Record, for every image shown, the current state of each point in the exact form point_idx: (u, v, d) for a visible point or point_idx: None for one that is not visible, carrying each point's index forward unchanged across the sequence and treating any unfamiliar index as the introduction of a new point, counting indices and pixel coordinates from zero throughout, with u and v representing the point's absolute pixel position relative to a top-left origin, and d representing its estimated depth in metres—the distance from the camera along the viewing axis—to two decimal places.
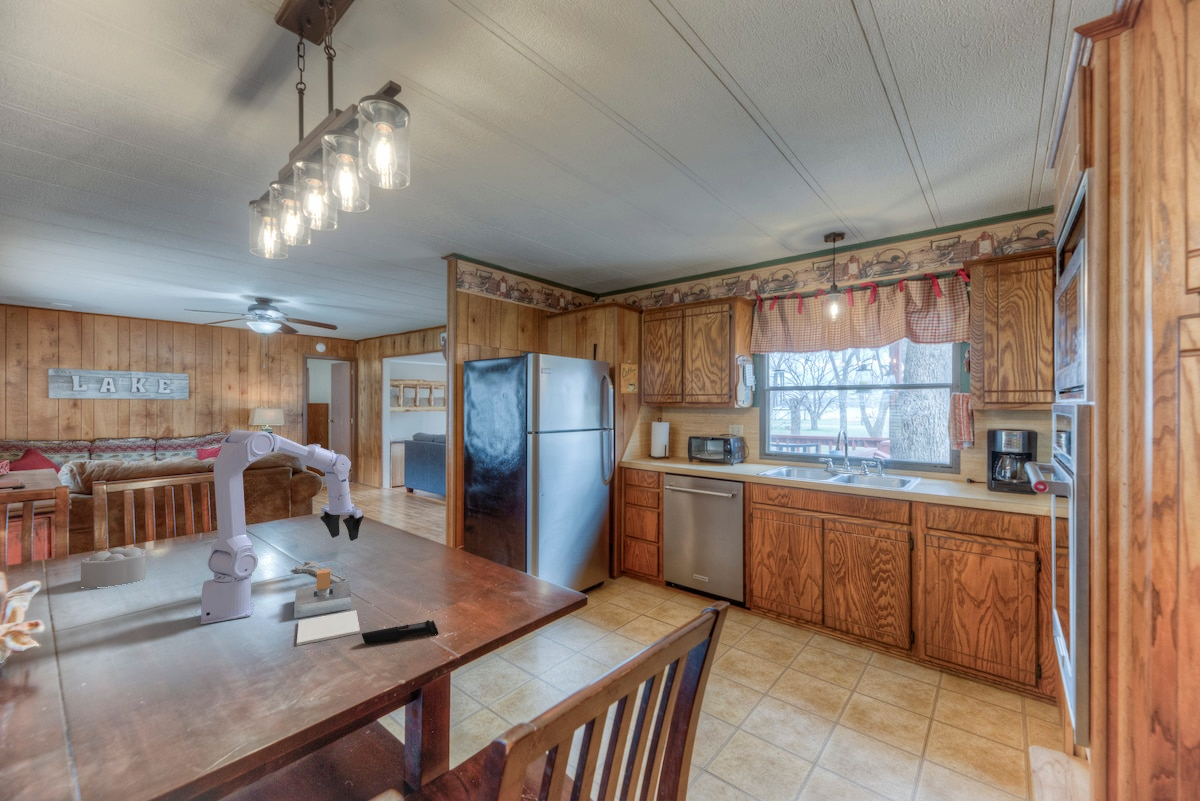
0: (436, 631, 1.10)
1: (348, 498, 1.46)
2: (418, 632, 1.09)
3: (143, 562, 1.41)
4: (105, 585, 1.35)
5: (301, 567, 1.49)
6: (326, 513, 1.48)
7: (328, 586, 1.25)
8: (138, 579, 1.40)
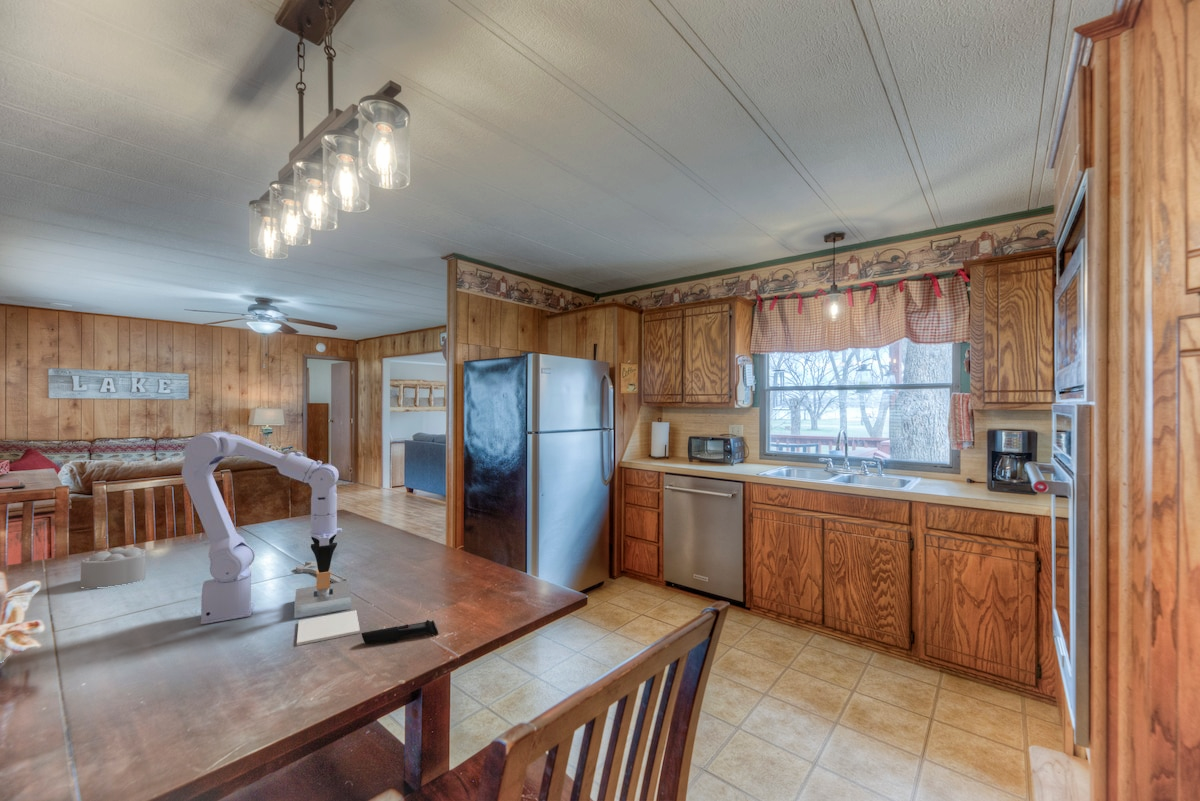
0: (436, 631, 1.10)
1: (327, 520, 1.24)
2: (417, 632, 1.09)
3: (143, 562, 1.41)
4: (105, 585, 1.35)
5: (302, 567, 1.49)
6: None
7: (328, 586, 1.25)
8: (138, 579, 1.40)
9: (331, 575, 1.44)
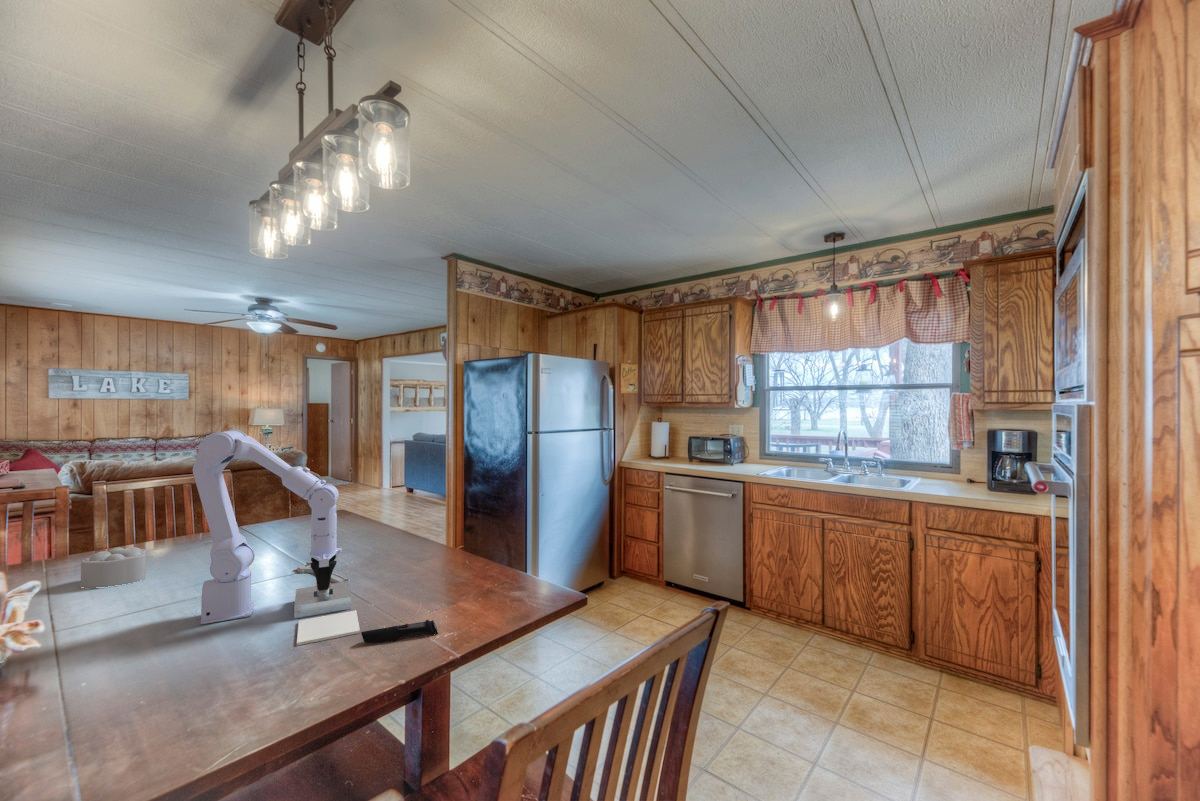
0: (435, 631, 1.10)
1: (327, 541, 1.24)
2: (417, 631, 1.09)
3: (143, 562, 1.41)
4: (105, 585, 1.35)
5: (303, 567, 1.49)
6: None
7: None
8: (138, 579, 1.40)
9: (332, 575, 1.44)
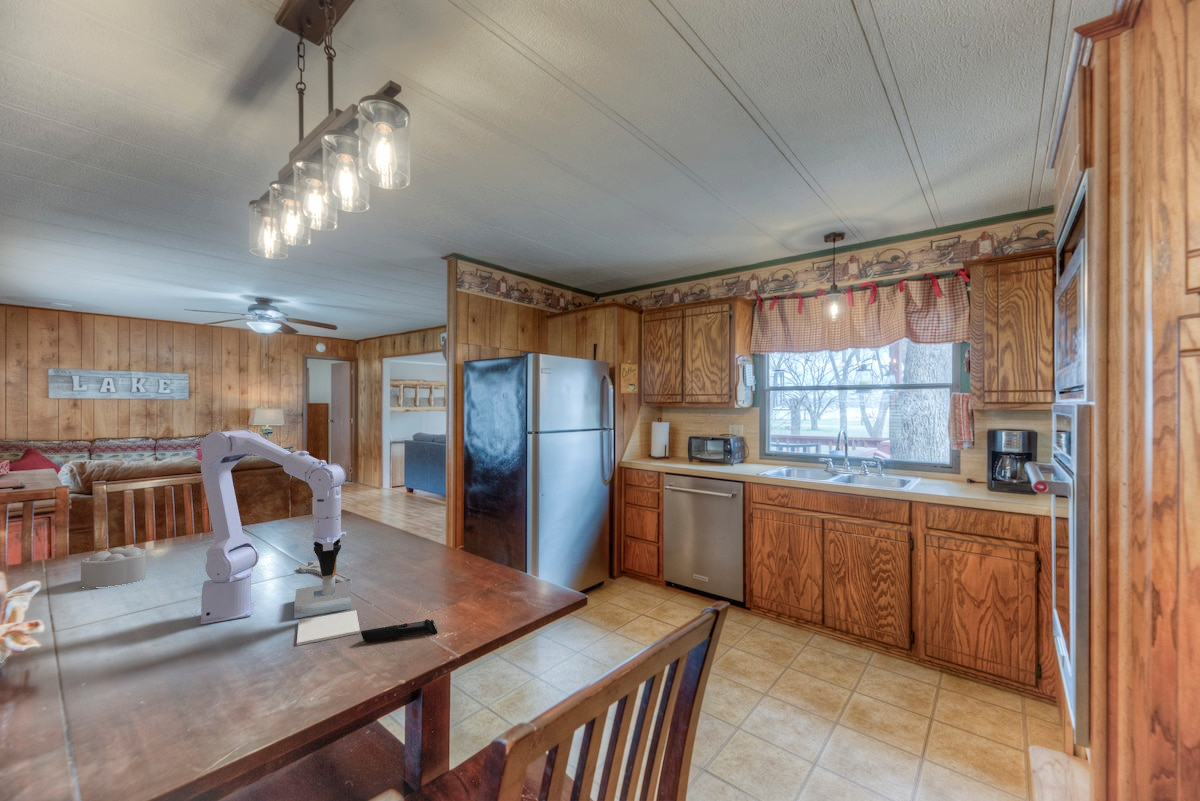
0: (435, 630, 1.11)
1: (331, 524, 1.17)
2: (416, 631, 1.09)
3: (143, 562, 1.41)
4: (105, 585, 1.35)
5: (305, 567, 1.49)
6: None
7: (334, 573, 1.18)
8: (138, 579, 1.40)
9: None
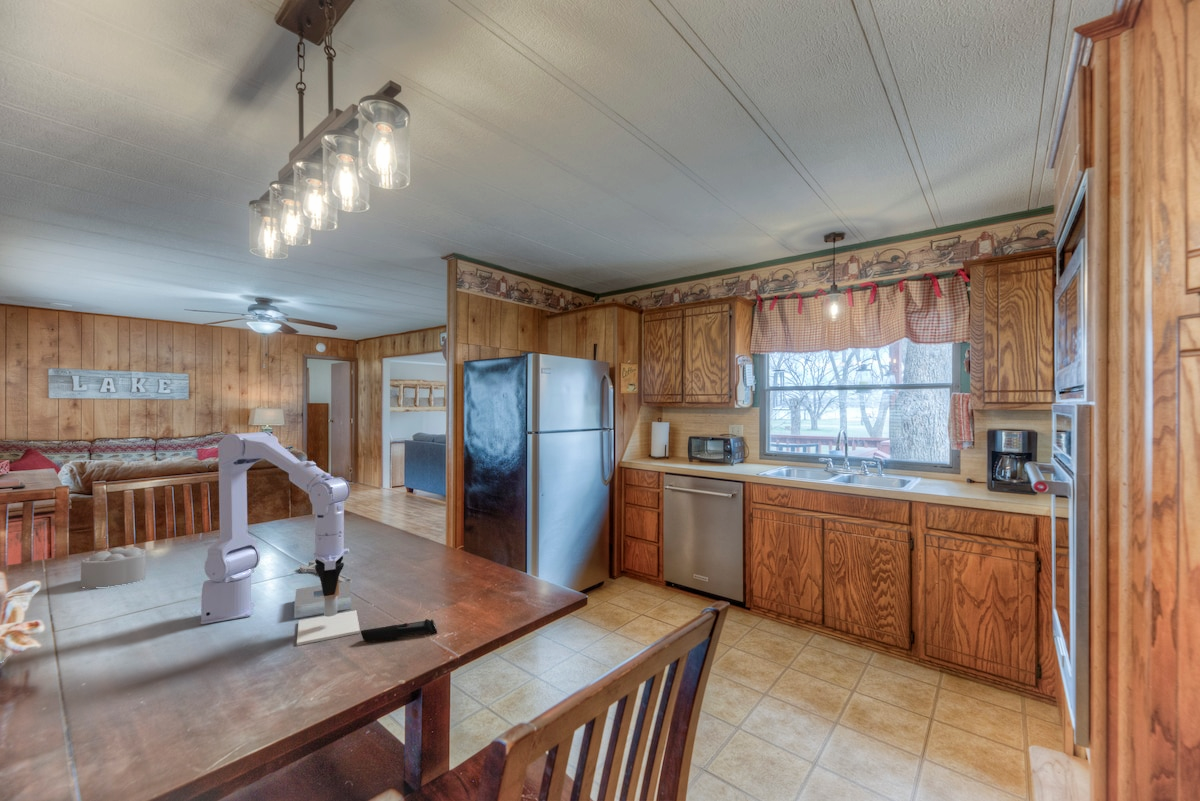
0: (434, 630, 1.11)
1: (333, 541, 1.11)
2: (416, 631, 1.09)
3: (143, 562, 1.41)
4: (105, 585, 1.35)
5: (306, 567, 1.50)
6: None
7: (336, 593, 1.12)
8: (138, 579, 1.40)
9: None
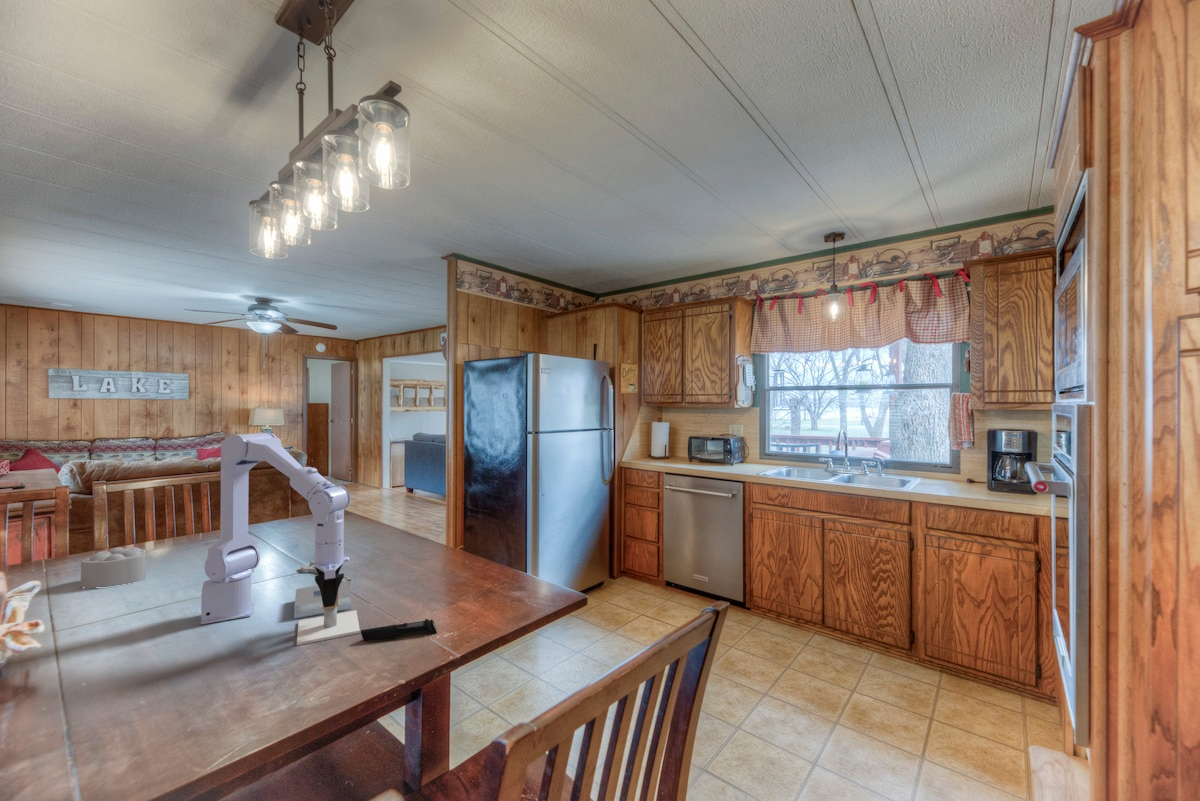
0: (434, 630, 1.11)
1: (333, 549, 1.11)
2: (416, 630, 1.09)
3: (143, 562, 1.41)
4: (105, 585, 1.35)
5: (307, 567, 1.50)
6: None
7: (336, 604, 1.12)
8: (138, 579, 1.40)
9: None
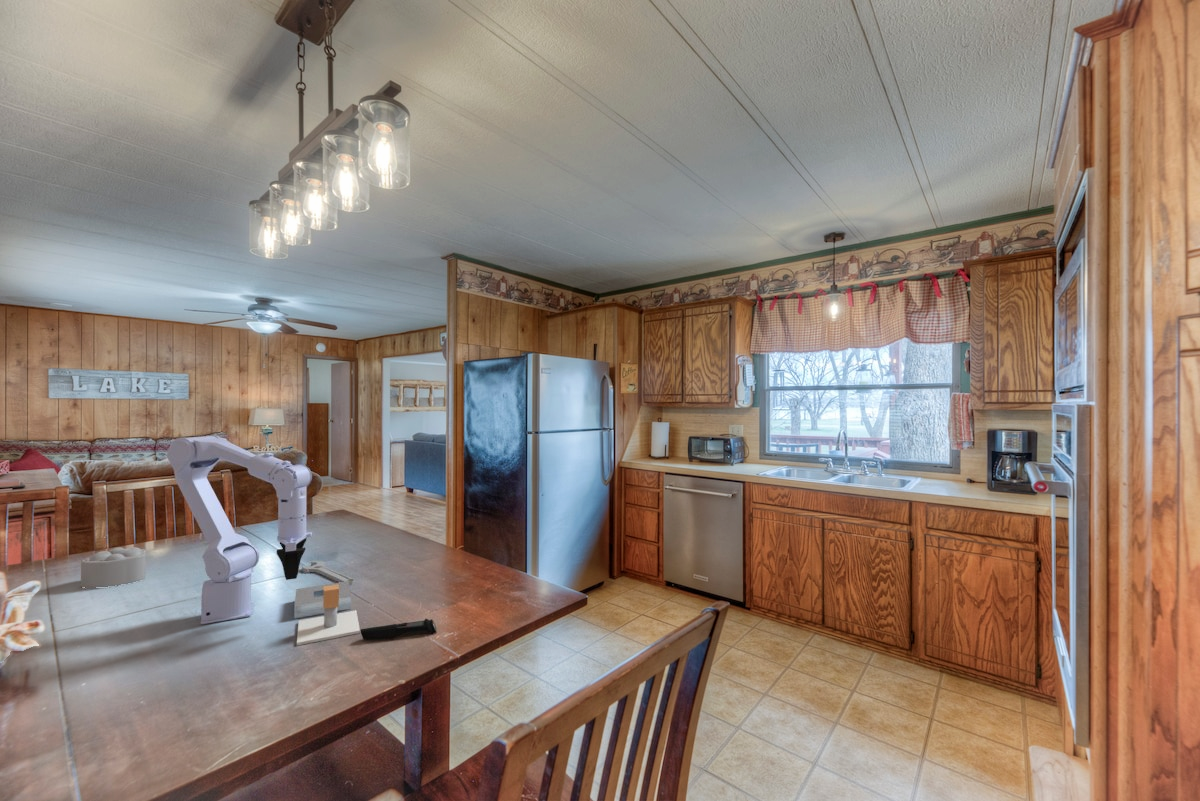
0: (434, 630, 1.11)
1: (295, 524, 1.16)
2: (415, 630, 1.09)
3: (143, 562, 1.41)
4: (105, 585, 1.35)
5: (308, 567, 1.50)
6: None
7: (336, 604, 1.12)
8: (138, 579, 1.40)
9: (337, 575, 1.44)
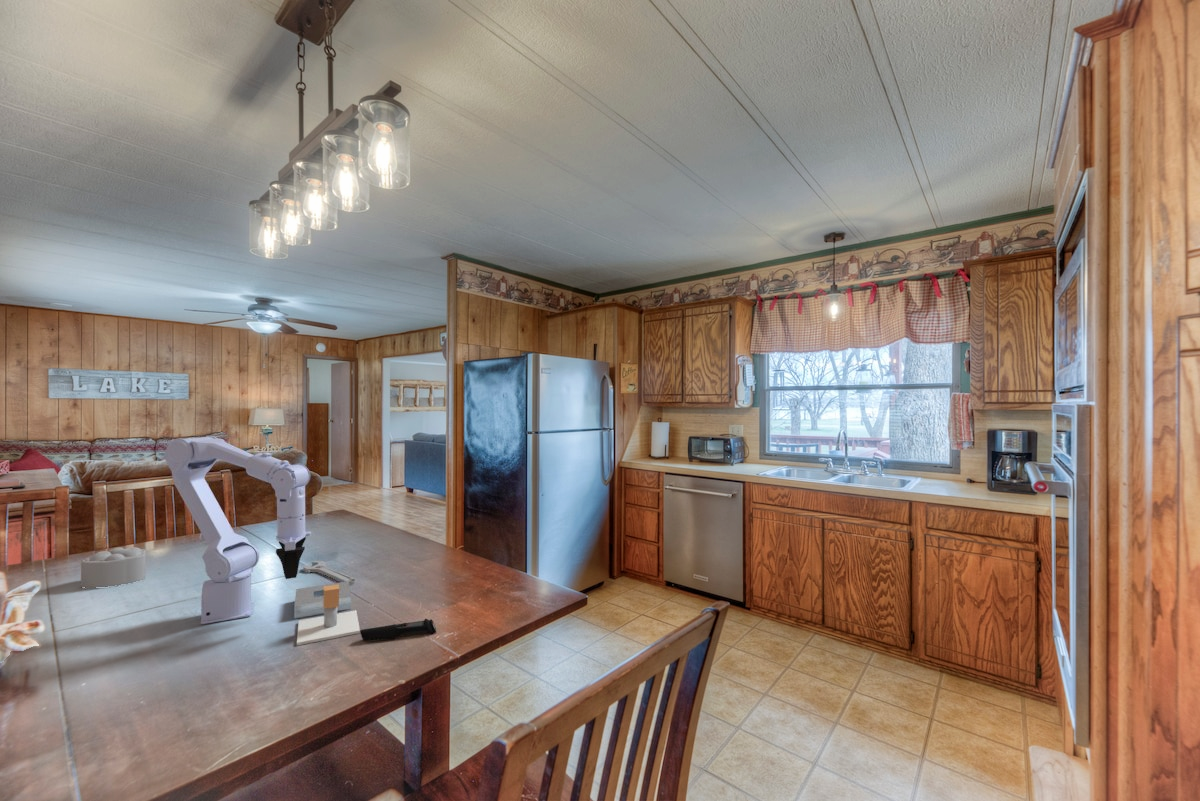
0: (433, 630, 1.11)
1: (294, 523, 1.17)
2: (415, 630, 1.09)
3: (143, 562, 1.41)
4: (105, 585, 1.35)
5: (309, 567, 1.50)
6: None
7: (336, 604, 1.12)
8: (138, 579, 1.40)
9: (339, 575, 1.44)
